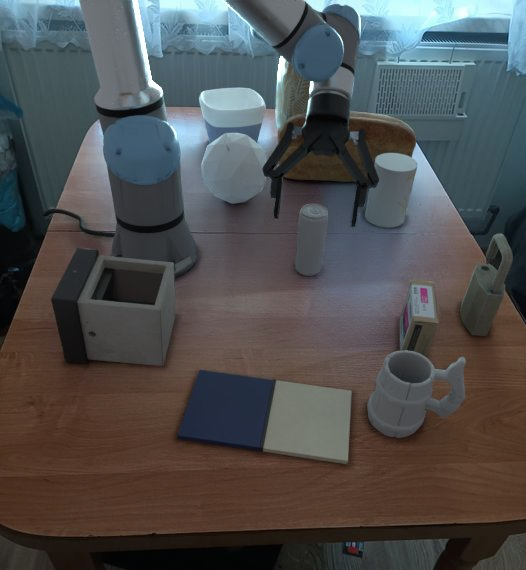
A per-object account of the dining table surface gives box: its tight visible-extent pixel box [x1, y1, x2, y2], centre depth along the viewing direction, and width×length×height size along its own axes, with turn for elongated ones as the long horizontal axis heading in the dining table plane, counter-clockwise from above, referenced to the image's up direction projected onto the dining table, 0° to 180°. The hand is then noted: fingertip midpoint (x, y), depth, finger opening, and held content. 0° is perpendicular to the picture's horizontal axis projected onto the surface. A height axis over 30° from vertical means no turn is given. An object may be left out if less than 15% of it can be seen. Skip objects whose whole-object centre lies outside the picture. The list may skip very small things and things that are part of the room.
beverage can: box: [294, 203, 329, 277], centre depth 94 cm, size 5×5×12 cm
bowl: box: [198, 87, 267, 144], centre depth 132 cm, size 15×15×11 cm
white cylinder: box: [364, 153, 419, 228], centre depth 109 cm, size 8×8×12 cm
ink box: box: [399, 279, 440, 358], centre depth 82 cm, size 10×4×8 cm, turn 170°
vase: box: [274, 55, 311, 130], centre depth 132 cm, size 17×17×27 cm
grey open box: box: [50, 247, 176, 367], centre depth 79 cm, size 12×14×12 cm
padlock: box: [459, 233, 514, 337], centre depth 84 cm, size 4×8×15 cm, turn 176°
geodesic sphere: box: [200, 132, 268, 205], centre depth 111 cm, size 15×14×14 cm
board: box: [177, 369, 353, 465], centre depth 73 cm, size 22×12×1 cm, turn 81°
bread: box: [277, 110, 417, 183], centre depth 122 cm, size 12×31×14 cm, turn 91°
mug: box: [366, 350, 467, 439], centre depth 70 cm, size 8×12×12 cm, turn 85°
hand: (314, 221), depth 94 cm, fingers open, 13 cm apart
